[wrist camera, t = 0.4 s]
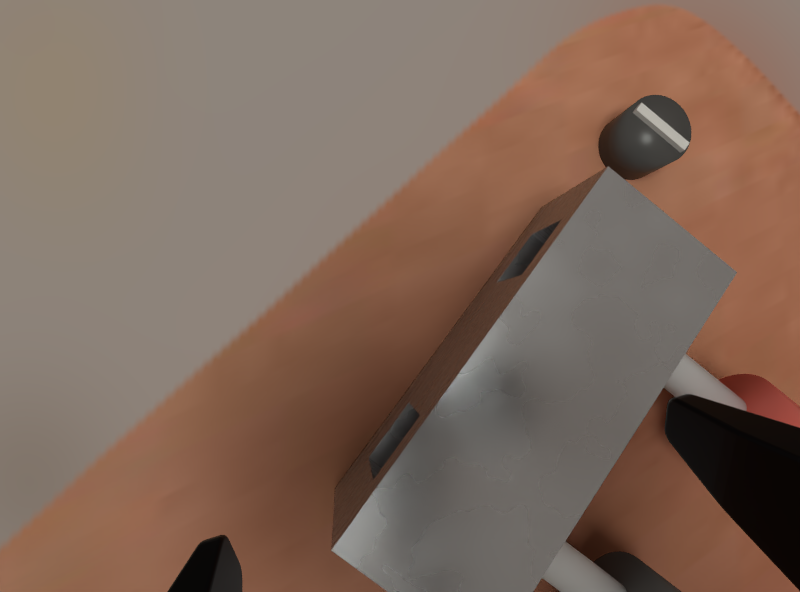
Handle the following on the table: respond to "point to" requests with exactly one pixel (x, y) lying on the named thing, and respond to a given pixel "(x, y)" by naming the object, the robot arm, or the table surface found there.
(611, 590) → the black knob
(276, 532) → the table surface
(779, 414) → the red knob
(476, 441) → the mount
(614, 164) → the dial
